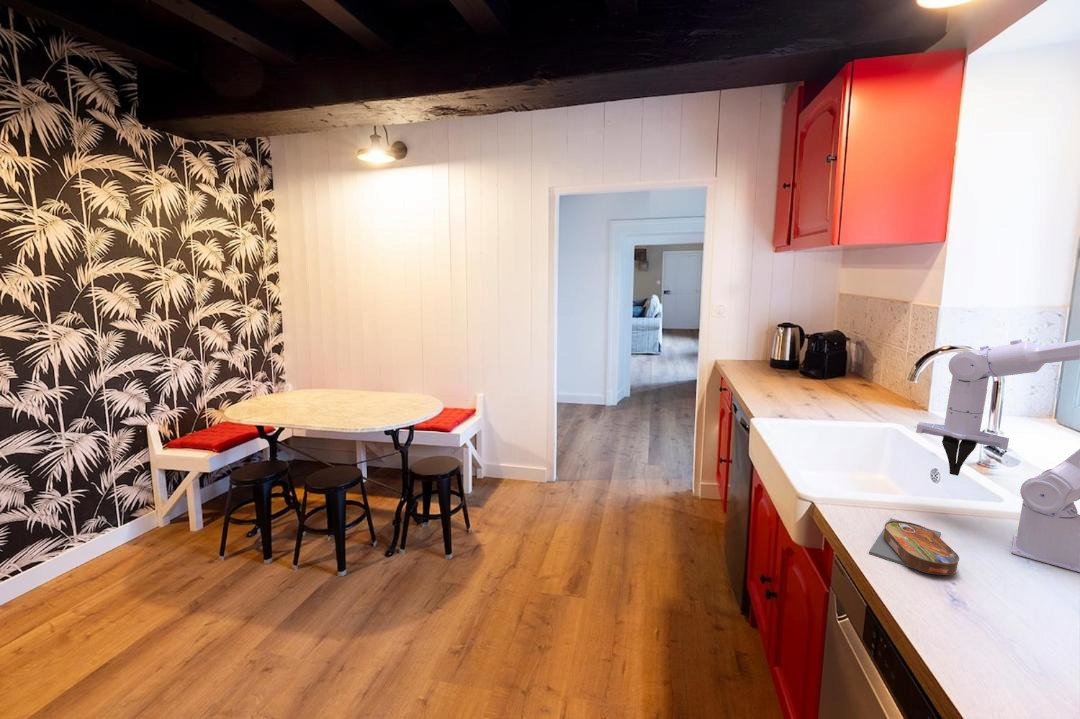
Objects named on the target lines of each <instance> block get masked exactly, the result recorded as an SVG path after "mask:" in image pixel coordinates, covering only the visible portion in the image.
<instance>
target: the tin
mask: <svg viewBox="0 0 1080 719" xmlns="http://www.w3.org/2000/svg"><path fill="white" fill-rule="evenodd" d="M884 528H885V531H884V538H885V540H886V542H887V543H888V544H889V545H890V546H891V547H892V549H893V550H894V551H895V552H896V553H897V554H898V555H899V557H900V558H901V559H902V560H903V561H904V562H905V563H906V564H907V565H909V566H911V567H912V569H915V570H917V571H919V572H923V573H925V574H934V575H940V576H952V575H954V574H955V573H957V569H958V564H959V561H960V556H959V554H958V553H957V552H956V551H954V550H953V549H952V548H951V546H949V545H948V544H947V543H946V542H945V541H944V540H943V539H942V538H941V536H940V537H938V536H937V535H936V534H935V533H934V532H933V531H931V530H932V529H931V530H929V529H930V528H928V527H926V526H923V525H920V524H917V523H913V522H909V521H904V520H899V521H890V522H888V521H887V522H886V523H885V524H884ZM911 567H910V568H911Z"/></svg>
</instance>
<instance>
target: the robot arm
mask: <svg viewBox="0 0 1080 719" xmlns="http://www.w3.org/2000/svg"><path fill="white" fill-rule="evenodd" d="M1078 360H1080V339H1078V340H1072V341H1067V342H1061V343H1054V344H1050V345H1045V346H1041V345H1038V344H1036V343H1034V342H1032V341H1028V340H1027V341H1023V340H1022V339H1014V340H1010V341H1009V344H1005V345H1004V344H1003V345H998V346H996V345H995V346H991V347H989V345H984V346H983V345H982V346H980V347H979V349H973V350H964V351H962V352H959V353H956V354H955V355H953V356H952V357H951V358H950V360H949V362H948V370H949V373H951V375H952V377H951V382H950V383H951V384H950V386H949V393H948V399H947V400H948V401H947V405H946V406H947V408H946V413H945V418H944V424H937V423H929V422H928V423H927V422H923V421H922V422H921V421H919V422H918V423H917V424H916V430H915V433H916V434H926V435H927V434H928V435H932V436H936V437H937V436H938V437H942V441H941V443H942V446H943V448H944V451H945V454H946V456H947V459H948V460H947V461H948V466H949V475H952V476H957V477H958V476H959V475H960V471H961V468H962V467H963V465H964V463H965V461H966V460H967V459H968V457H969V456H970V455H971V454H972V452H973V451H974V450H976V447H977V444H978V445H979V444H980V445H985V446H990V447H996V448H999V449H1000V450H1006V451H1007V450H1008V446H1009V440H1010V437H1006V436H1005V437H1004V436H1001V435H997V434H991V433H988V432H984V431H981V427H982V424H983V423H982V421H983V416H984V409H985V404H986V399H987V398H986V397H987V394H988V386H989V379H990V377H993V378H998V377H999V378H1000V377H1007V376H1015V375H1022V374H1032V373H1038V371H1040V370H1041V368H1042V367H1043V366H1044V365H1045V364H1049V363H1050V364H1052V363H1060V362H1061V363H1062V362H1068V361H1069V362H1070V361H1078ZM1020 497H1021V498H1022V504H1021V509H1020V515H1019V522H1018V527H1017V528H1018V529H1017V534H1016V536H1015V535H1014V536H1013V540H1012V547H1011V554H1014V555H1017V556H1019V557H1020V556H1021V557H1024V558H1028V559H1031V560H1034V561H1038V562H1042V563H1046V564H1049V565H1052V566H1056V567H1060V568H1063V569H1067V570H1071V571H1075V572H1078V573H1080V514H1079V512H1078V509H1077V507H1076V505H1075V502H1077V501H1079V500H1080V448H1079V449H1078V450H1076V451H1075V452H1074V453H1072V454H1071V455H1069V457H1068V458H1066V459H1065V460H1063V461H1061V463H1059V464H1057V465H1056V466H1055V467H1053V468H1049V469H1046V470H1045V471H1044V470H1043V471H1042V473H1041V474H1039V475H1037V476H1035V477H1034V476H1033V477H1030V478H1029V479H1027V480H1025V481H1024V482H1022V484H1021V487H1020Z"/></svg>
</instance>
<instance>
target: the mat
mask: <svg viewBox="0 0 1080 719" xmlns="http://www.w3.org/2000/svg"><path fill="white" fill-rule="evenodd" d="M890 521H900V520H899V519H895V518H892V517H891V518H889V520H888V521H887V522H890ZM928 529H929V530H931V531H933V532H934V533H935V534H936V535H937V536H938V537H940V538H941V535H942V532H941V531H940V530H939V531H938V530H934V529H931V528H928ZM884 531H885V527H883V530H881V532H880V534H879V535H878V537H877V538H876V539H875V541H874V543H873V544H872V546H871V548H870V549H869V551H868V555H871V556H875V557H878V558H880V559H883V560H884V559H885V560H886V561H887V560H888V561H890V562H893V563H897V564H899V565H902V566H905V567H908V568H912V567H911V566H909V565H907V564H906V563H905V562H904V561H903V560H902V559H901V558H900V557H899V555H898V554H897V553H896V552H895V551H894V550H893V549H892V547H891V546H890V545H889V544H888V543H887V542H886V540H885V538H884ZM912 569H913V568H912Z"/></svg>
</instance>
